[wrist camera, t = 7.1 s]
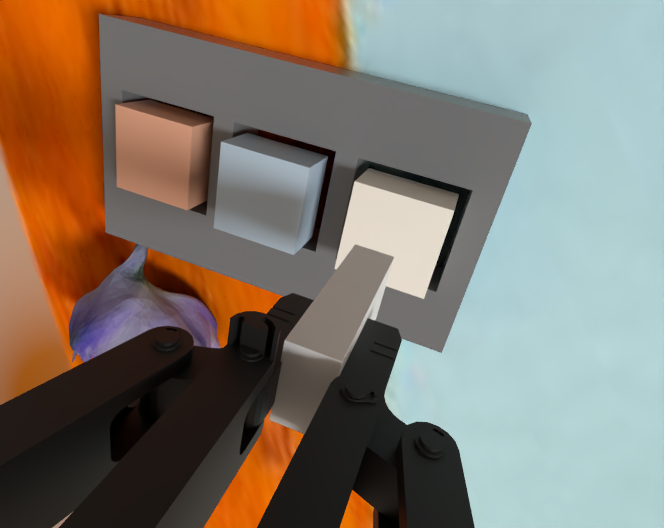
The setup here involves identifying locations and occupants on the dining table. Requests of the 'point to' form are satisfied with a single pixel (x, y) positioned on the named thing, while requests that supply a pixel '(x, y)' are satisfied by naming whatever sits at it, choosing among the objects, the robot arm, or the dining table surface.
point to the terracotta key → (163, 152)
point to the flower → (134, 311)
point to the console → (314, 128)
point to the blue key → (268, 191)
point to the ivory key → (399, 226)
